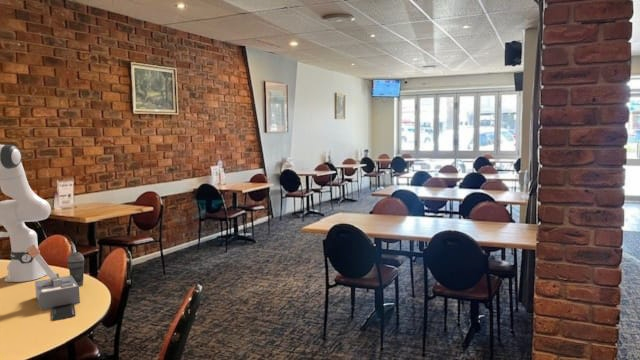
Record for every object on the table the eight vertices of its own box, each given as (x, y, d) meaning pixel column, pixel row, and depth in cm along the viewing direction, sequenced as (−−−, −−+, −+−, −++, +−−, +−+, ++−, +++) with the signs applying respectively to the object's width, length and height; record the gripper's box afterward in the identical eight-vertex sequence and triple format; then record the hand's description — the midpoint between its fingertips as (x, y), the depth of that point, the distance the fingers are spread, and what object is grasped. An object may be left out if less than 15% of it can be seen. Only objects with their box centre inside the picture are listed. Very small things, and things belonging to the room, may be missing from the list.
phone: (73, 303, 192) (75, 314, 179) (74, 305, 192) (75, 317, 179) (51, 306, 188) (51, 318, 175) (51, 309, 188) (51, 321, 175)
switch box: (36, 297, 202) (34, 274, 201) (72, 290, 210) (71, 268, 209) (40, 310, 186) (38, 286, 185) (80, 302, 194) (78, 279, 193)
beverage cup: (79, 288, 213) (75, 244, 212) (65, 287, 215) (61, 244, 213) (89, 283, 221) (86, 241, 219) (76, 282, 222) (73, 241, 220)
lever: (52, 282, 200) (26, 248, 194) (60, 277, 202) (34, 244, 195) (55, 286, 194) (27, 252, 187) (62, 282, 195) (35, 247, 189)
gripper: (-34, 226, 170) (11, 226, 179) (-40, 225, 185) (2, 225, 195) (-35, 244, 170) (10, 243, 179) (-41, 242, 185) (1, 241, 194)
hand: (6, 234), depth 187 cm, fingers open, 8 cm apart
